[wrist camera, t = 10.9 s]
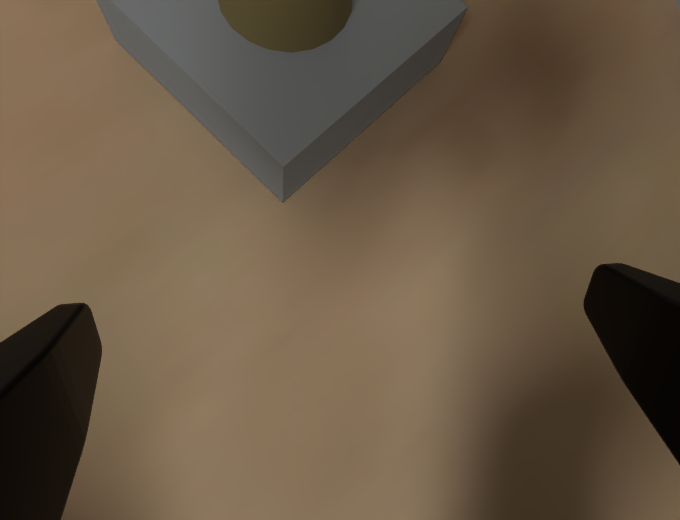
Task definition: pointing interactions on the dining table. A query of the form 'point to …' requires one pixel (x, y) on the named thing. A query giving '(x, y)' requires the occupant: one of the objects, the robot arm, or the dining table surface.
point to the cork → (287, 21)
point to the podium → (285, 76)
